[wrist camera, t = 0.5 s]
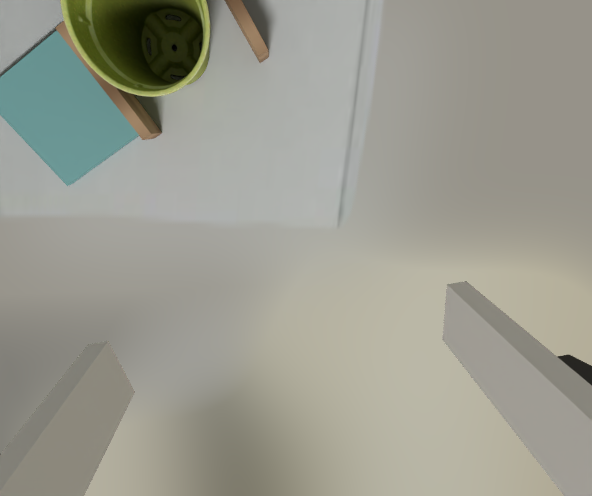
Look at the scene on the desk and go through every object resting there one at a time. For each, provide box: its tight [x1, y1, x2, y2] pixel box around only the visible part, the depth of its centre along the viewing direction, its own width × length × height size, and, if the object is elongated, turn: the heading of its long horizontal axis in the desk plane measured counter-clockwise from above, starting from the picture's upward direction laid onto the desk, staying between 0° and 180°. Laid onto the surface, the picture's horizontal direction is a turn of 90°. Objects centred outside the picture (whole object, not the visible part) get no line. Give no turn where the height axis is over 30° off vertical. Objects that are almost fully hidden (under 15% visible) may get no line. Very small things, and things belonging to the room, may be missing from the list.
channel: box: [56, 0, 269, 140], centre depth 26 cm, size 10×14×3 cm
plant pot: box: [60, 0, 210, 97], centre depth 24 cm, size 9×9×9 cm
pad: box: [0, 30, 139, 186], centre depth 29 cm, size 10×10×1 cm
